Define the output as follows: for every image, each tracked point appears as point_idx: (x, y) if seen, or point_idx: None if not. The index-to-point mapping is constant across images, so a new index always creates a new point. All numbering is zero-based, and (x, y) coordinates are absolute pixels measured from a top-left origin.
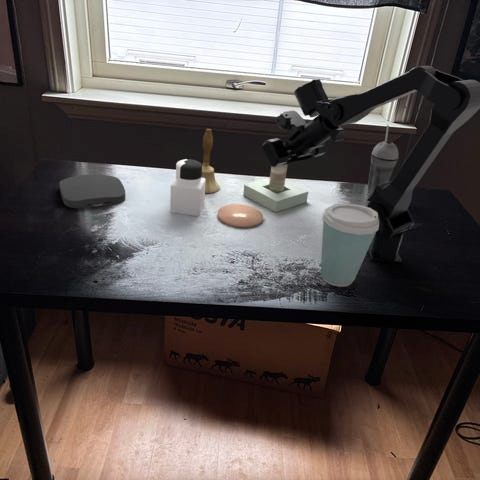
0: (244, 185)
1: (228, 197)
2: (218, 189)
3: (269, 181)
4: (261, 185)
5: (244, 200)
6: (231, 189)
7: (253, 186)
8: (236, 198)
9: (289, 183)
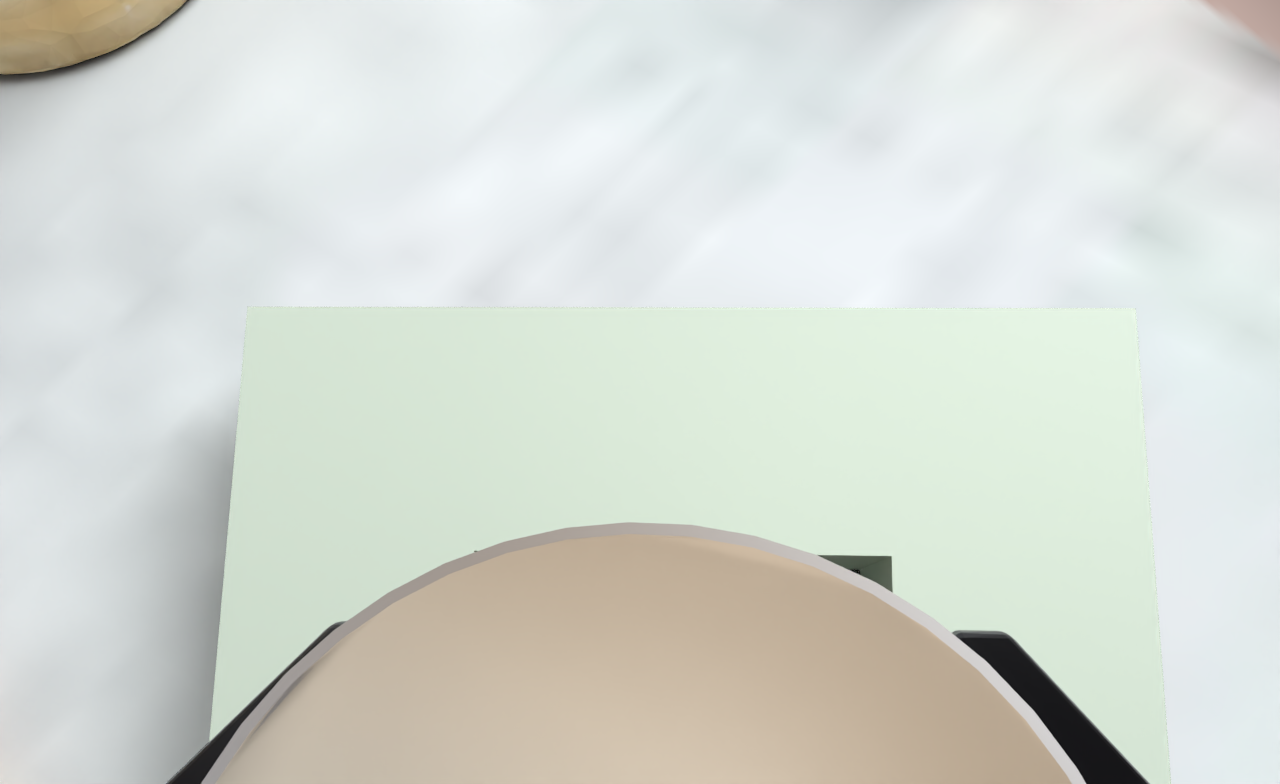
0: (255, 317)
1: (56, 310)
2: (99, 41)
3: (795, 447)
4: (500, 511)
5: (179, 525)
6: (315, 109)
7: (325, 466)
8: (130, 401)
9: (1122, 752)
